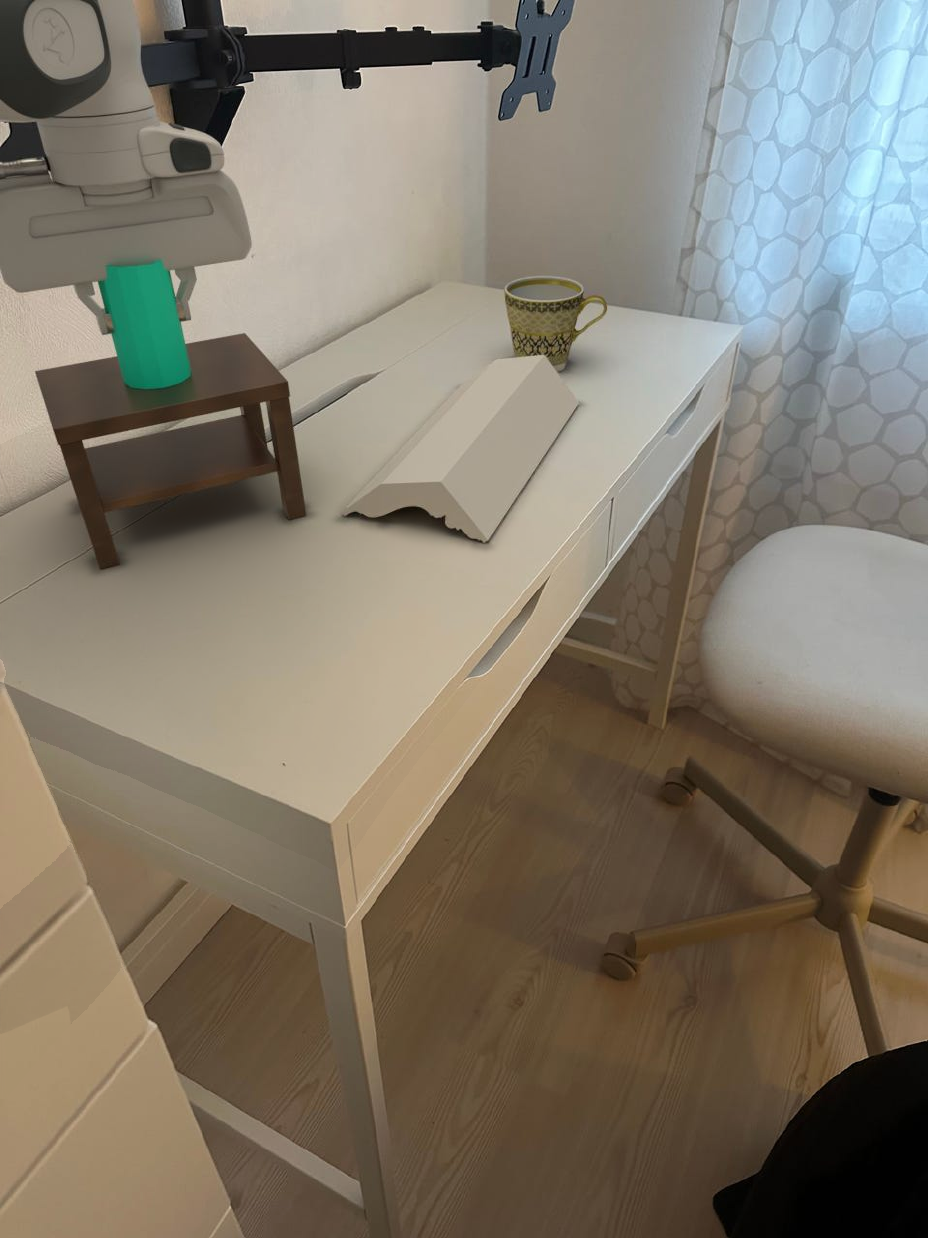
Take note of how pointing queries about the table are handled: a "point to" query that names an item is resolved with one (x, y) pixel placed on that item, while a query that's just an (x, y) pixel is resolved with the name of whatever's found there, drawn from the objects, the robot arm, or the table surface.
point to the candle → (145, 325)
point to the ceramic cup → (546, 316)
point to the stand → (171, 432)
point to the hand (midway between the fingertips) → (146, 325)
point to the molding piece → (476, 448)
